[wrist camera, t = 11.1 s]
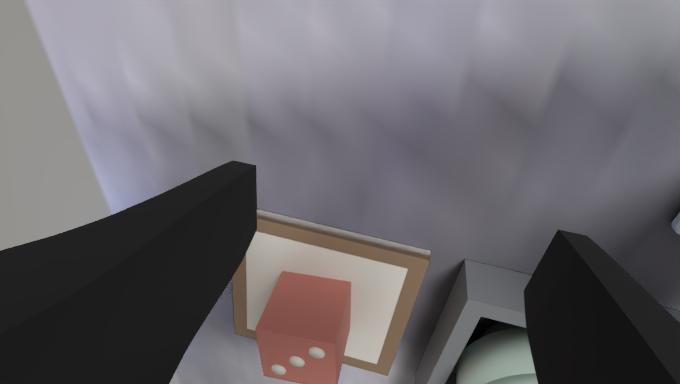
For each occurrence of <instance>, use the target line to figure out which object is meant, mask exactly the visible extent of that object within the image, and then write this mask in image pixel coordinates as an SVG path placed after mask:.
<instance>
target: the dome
mask: <svg viewBox="0 0 680 384" xmlns="http://www.w3.org/2000/svg"><path fill="white" fill-rule="evenodd" d="M456 384H538V381H537V377H536V372H535V368H534V363H533V359H532V354H531V349H530V345H529V340H528V335H527V329H526V328H524V327H520V328H511V329H506V330H502V331H498V332H495V333H491V334H489V335H486V336H484V337H482V338H480V339H478V340H476V341H474V342H473V343H472V344H470V345H469V346H468V347H467V348H466V349H465V350H464V351H463V352H462V353H461V355H460V357H459V359H458V361H457V365H456Z"/></svg>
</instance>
